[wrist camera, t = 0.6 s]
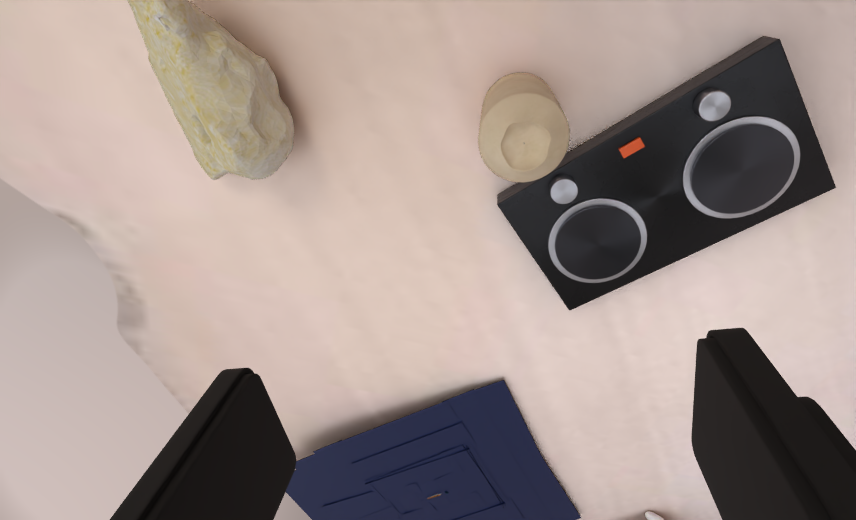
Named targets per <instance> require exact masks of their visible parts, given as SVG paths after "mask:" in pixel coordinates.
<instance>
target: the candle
mask: <svg viewBox="0 0 856 520" xmlns="http://www.w3.org/2000/svg"><path fill="white" fill-rule="evenodd" d="M569 138H570V131H569V125H568V122H567V119H566V117H565V115H564V113H563V111H562V109H561V107H560V105H559V103H558V101H557V100H556V98H555V96H554V94H553V92H552V90H551V89H550V87H549V86H548V85H547V84H546V83H545V82H544V81H543V80H542V79H541V78H539V77H537V76H535V75H533V74H529V73H513V74H509V75H507V76H505V77H503V78H501V79H499V80H498V81H497V82H496V83H494V85H493V86H492V87H491V88H490V89H489V91H488V92H487V94H486V96H485V99H484V102H483V106H482V112H481V120H480V128H479V135H478V145H479V151H480V154H481V157H482V159H483V161H484V163H485V164H486V165H487V167H488V168H489V169H490V170H491V171H492V172H493V173H494V174H496V175H497V176H499V177H501V178H503V179H505V180H508V181H512V182H530V181H534V180H537V179H540V178H542V177H544V176H546V175H547V174H549V173H550V172H552V171H553V170H554V169H555V168H556V167H557V166H558V165H559V164H560V162H561V161H562V159H563V158H564V156H565V154H566V151H567V149H568V145H569Z"/></svg>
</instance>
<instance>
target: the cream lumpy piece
mask: <svg viewBox="0 0 856 520" xmlns="http://www.w3.org/2000/svg"><path fill="white" fill-rule="evenodd" d="M128 2H129V4H130V6H131V8H132V10H133V13H134V16H135V19H136V22H137V25H138V27H139V30H140V32H141V35H142V37H143V40H144V42H145V45H146V47H147V50H148V52H149V61H150V63H151V66H152V68H153V70H154V72H155V74H156V76H157V78H158V80H159V83H160V85H161V87H162V89H163V91H164V93H165V96H166V98H167V100H168V102H169V104H170V106H171V108H172V109H173V112H174V115H175V117H176V118H177V120H178V122H179V124H180V125H181V127H182V129H183V131H184V133H185V135H186V137H187V139H188V141H189V143H190V145H191V147H192V149H193V152H194V155H195V157H196V159H197V161H198V162H199V164H200V165H201V167H202V168H203V170H204V171H205V172H206V173H207V175H208V176H209V177H210V178H211V179H212V180H216V179H219V178H220V177H222V176H223V175H225V174H227V173H228V172H229V173H232V174H235V175H239V176H243V177H246V178H249V179H263V178H266V177H268V176H270V175H272V174H273V173H274V172H276V171H277V170H278V168H279V167H280V166H281V164H282V163H283V162H284V161H285V159H286V158H287V156H288V155H289V153H290V152H291V151H292V148H293V143H294V141H293V138H294V126H293V119H292V116H291V114H290V111H289V109H288V107H287V106H286V105H285V104H284V102H283V101H282V100H281V98H280V96H279V89H278V84H277V81H276V77H275V74H274V72H273V71H272V69H271V68H270V67H269V64H268V61H267V60H266V59H265V58H263V57H260V56H258V55H256V54H255V53H253V52H252V51H251V50H250V49H248V48H247V47H246V46H245V45H243V44H242V43H240V42H239V41H237V40H236V39H234V38H233V36H232V35H231V34H230V33H229V32H228V31H227V30H226V29H225V28H223V27H222V26H221V25H220V24H219V23H218V22H217V21H215V20H214V19H213V18H212V17H210V16H208V15H206V14H204V13H203V12H202V11H201V10H200V9H199V8H197V7H196V6H195V5H193V4H192V3H190V2H189V1H187V0H128Z"/></svg>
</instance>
